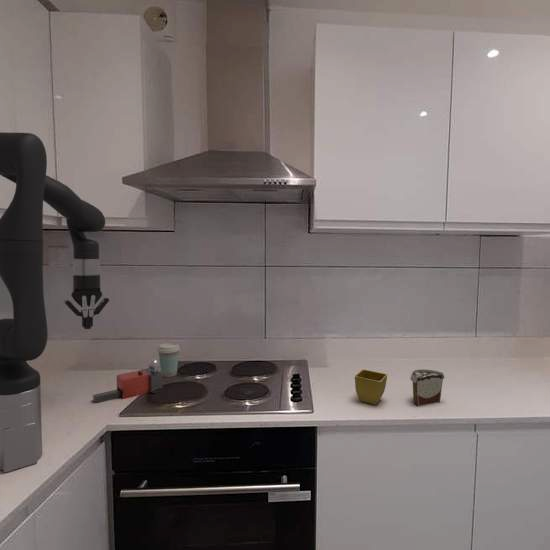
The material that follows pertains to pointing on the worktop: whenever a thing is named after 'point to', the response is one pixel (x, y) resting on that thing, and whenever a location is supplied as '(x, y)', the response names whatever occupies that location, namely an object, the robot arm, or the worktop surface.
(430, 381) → the food container
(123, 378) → the red box with knob
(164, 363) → the coffee cup
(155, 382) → the grey bar with block
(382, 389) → the flower pot
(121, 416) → the worktop surface
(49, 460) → the worktop surface
